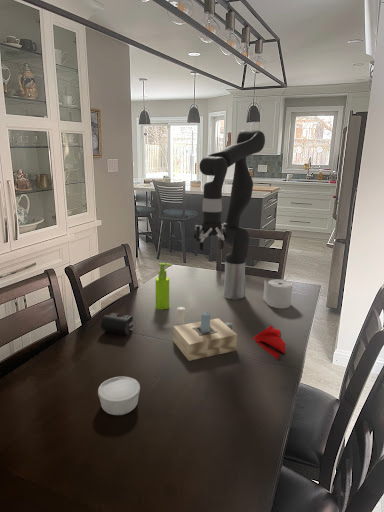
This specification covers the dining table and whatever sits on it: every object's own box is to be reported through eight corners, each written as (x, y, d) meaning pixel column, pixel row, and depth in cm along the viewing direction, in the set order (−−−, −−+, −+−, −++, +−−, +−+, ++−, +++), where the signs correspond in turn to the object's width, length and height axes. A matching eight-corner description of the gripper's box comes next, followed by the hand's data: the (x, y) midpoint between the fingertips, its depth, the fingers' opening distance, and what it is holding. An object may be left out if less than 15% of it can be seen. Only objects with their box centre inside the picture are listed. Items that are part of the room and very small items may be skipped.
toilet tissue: (291, 309, 166) (293, 288, 164) (263, 307, 168) (265, 286, 165) (289, 300, 177) (291, 280, 174) (263, 298, 178) (264, 278, 176)
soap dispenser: (171, 310, 163) (171, 265, 158) (155, 309, 163) (154, 265, 158) (172, 304, 169) (172, 261, 164) (156, 304, 169) (156, 261, 164)
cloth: (258, 324, 153) (258, 319, 153) (293, 330, 149) (293, 324, 148) (246, 356, 129) (246, 350, 129) (287, 364, 125) (288, 358, 125)
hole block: (217, 332, 144) (218, 317, 143) (236, 350, 132) (237, 334, 130) (173, 341, 137) (173, 325, 135) (188, 360, 125) (189, 343, 123)
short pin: (229, 333, 144) (229, 321, 142) (233, 337, 141) (234, 325, 139) (221, 335, 142) (222, 323, 141) (225, 339, 140) (226, 326, 138)
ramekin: (122, 387, 111) (121, 371, 109) (149, 403, 104) (148, 386, 103) (90, 406, 103) (89, 389, 101) (117, 425, 96) (116, 407, 94)
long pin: (206, 342, 137) (207, 312, 133) (210, 347, 134) (211, 315, 131) (198, 344, 135) (199, 313, 132) (202, 348, 133) (203, 317, 129)
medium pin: (183, 324, 151) (183, 306, 149) (186, 327, 148) (186, 309, 146) (175, 325, 149) (175, 307, 147) (178, 328, 147) (178, 311, 145)
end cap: (101, 334, 141) (100, 318, 139) (110, 326, 148) (110, 310, 146) (125, 339, 138) (124, 322, 136) (134, 330, 145) (133, 314, 143)
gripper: (223, 207, 154) (222, 246, 158) (191, 209, 148) (190, 249, 153) (232, 210, 147) (231, 250, 152) (199, 212, 142) (198, 254, 146)
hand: (210, 250), depth 152 cm, fingers open, 8 cm apart
